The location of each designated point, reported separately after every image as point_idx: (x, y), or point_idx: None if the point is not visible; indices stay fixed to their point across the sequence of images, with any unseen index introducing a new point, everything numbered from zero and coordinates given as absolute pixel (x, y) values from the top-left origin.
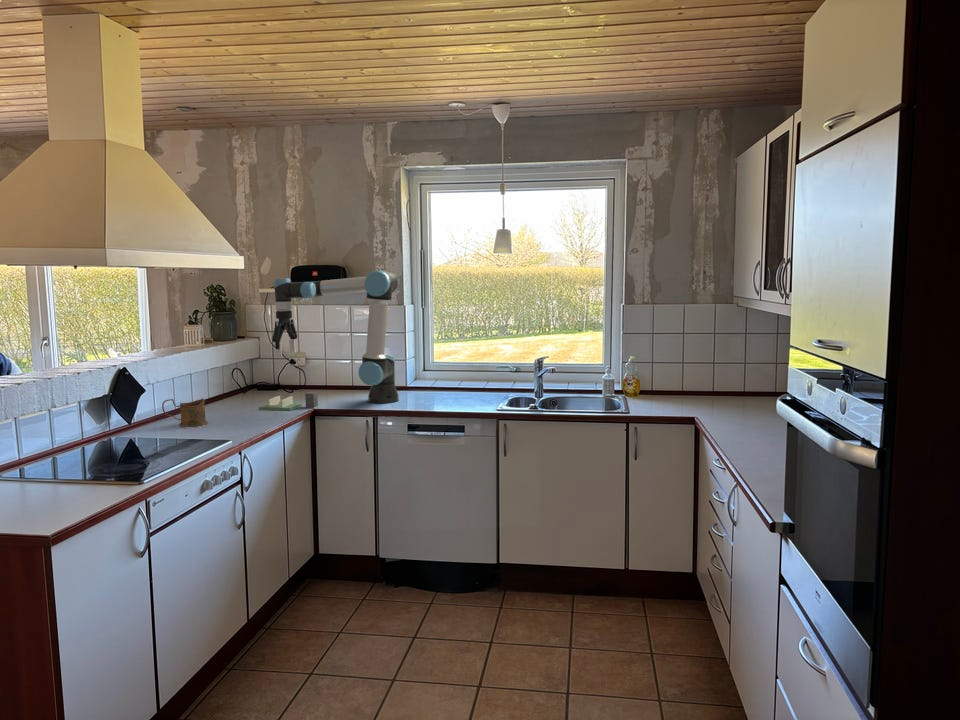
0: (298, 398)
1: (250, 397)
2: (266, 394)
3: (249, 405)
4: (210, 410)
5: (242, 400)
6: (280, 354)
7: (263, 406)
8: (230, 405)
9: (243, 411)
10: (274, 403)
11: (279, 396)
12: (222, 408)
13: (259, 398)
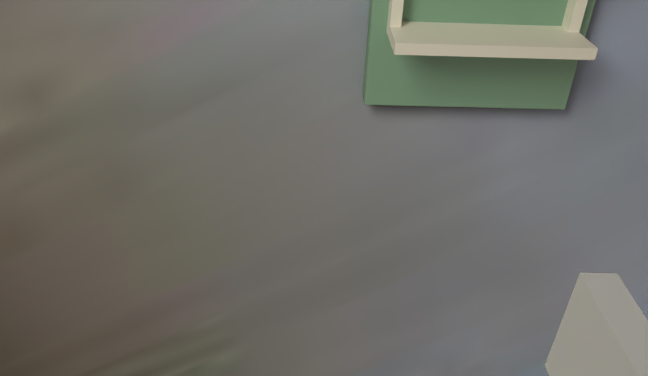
0: (47, 3)
1: (145, 334)
2: (10, 298)
3: (405, 227)
4: None
5: (250, 331)
6: (630, 306)
7: (545, 86)
8: (414, 321)
9: (618, 171)
10: (494, 28)
11: (406, 42)
12: (508, 319)
13: (157, 276)
